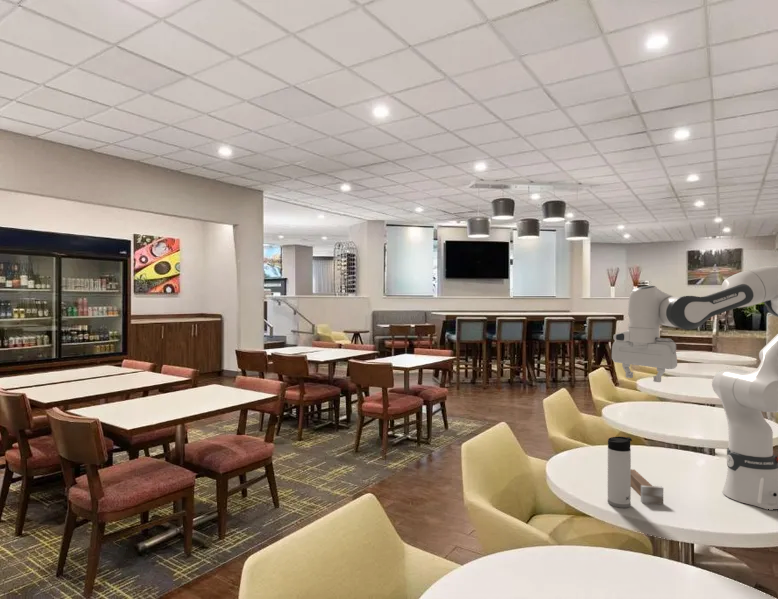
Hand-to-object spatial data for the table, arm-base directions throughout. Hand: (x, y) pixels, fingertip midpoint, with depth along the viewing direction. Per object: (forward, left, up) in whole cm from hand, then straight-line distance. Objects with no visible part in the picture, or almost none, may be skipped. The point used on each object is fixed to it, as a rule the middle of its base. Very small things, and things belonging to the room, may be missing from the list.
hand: (642, 379), depth 156 cm
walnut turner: (+1, 0, -36) cm, 36 cm away
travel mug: (+11, +11, -36) cm, 39 cm away
